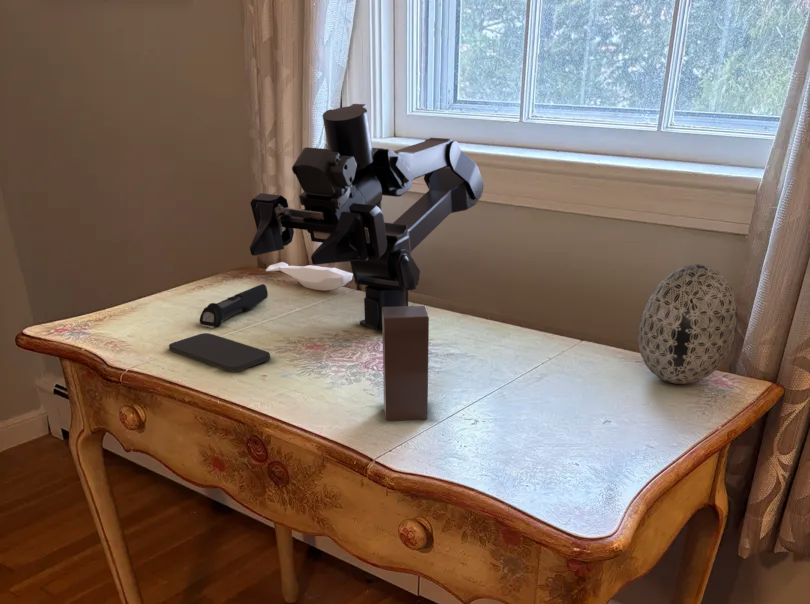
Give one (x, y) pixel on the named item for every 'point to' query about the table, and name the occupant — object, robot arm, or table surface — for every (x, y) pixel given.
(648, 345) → the decorative egg
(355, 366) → the table surface
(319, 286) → the white fish figurine
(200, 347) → the phone
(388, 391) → the walnut block
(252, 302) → the electric trimmer
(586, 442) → the table surface
